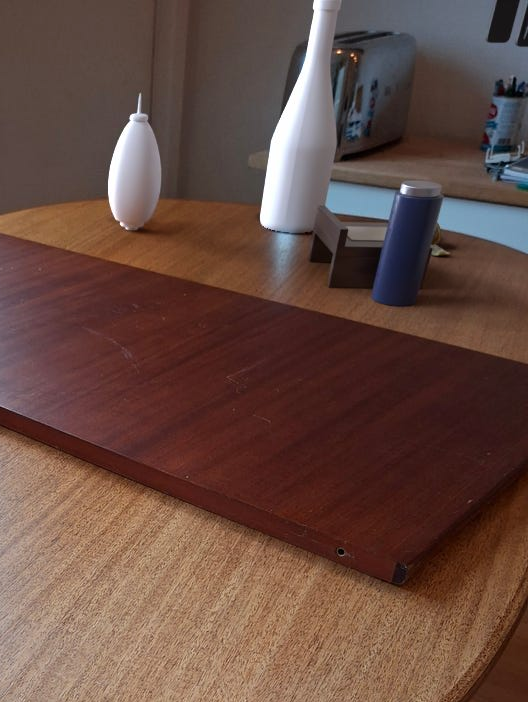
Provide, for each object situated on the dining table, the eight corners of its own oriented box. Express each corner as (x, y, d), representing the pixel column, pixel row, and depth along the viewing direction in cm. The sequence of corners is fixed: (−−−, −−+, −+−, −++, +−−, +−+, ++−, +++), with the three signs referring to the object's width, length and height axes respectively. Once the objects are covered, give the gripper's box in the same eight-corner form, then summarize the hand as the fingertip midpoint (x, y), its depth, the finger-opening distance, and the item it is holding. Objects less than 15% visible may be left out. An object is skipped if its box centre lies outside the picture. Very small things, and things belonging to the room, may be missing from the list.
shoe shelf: (393, 261, 123) (406, 207, 119) (422, 289, 113) (437, 231, 108) (307, 259, 123) (317, 205, 119) (328, 287, 113) (340, 229, 109)
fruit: (390, 253, 126) (396, 226, 124) (386, 239, 132) (393, 212, 130) (450, 258, 125) (458, 230, 122) (444, 243, 131) (451, 217, 129)
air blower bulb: (162, 225, 137) (174, 91, 126) (149, 237, 132) (160, 97, 121) (115, 220, 140) (122, 88, 128) (99, 232, 134) (106, 94, 123)
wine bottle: (263, 217, 142) (298, -12, 124) (323, 223, 140) (368, -11, 121) (254, 231, 135) (289, -10, 117) (317, 237, 133) (363, -9, 114)
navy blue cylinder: (408, 293, 111) (437, 179, 103) (421, 306, 107) (453, 189, 99) (365, 292, 111) (391, 179, 103) (377, 305, 107) (405, 188, 99)
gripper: (656, -198, 69) (580, 49, 79) (582, -172, 81) (524, 41, 90) (558, -198, 70) (495, 48, 79) (498, -171, 81) (449, 41, 91)
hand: (510, 44), depth 85 cm, fingers open, 8 cm apart
